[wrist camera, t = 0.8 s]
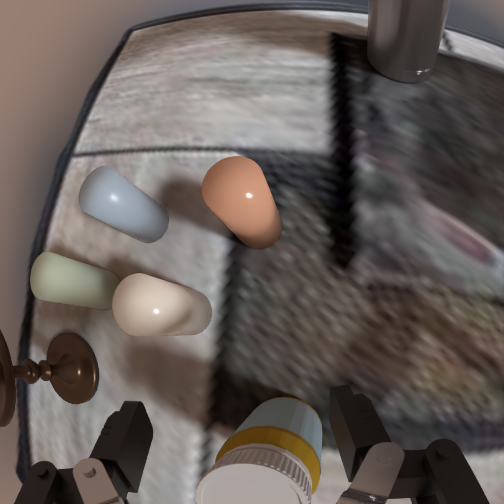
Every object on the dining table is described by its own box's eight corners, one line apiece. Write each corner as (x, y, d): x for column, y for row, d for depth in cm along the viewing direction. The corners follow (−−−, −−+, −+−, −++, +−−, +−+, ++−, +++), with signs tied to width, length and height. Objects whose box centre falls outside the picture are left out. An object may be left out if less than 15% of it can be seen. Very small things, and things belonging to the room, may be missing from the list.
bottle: (270, 382, 28) (221, 431, 14) (335, 415, 26) (344, 491, 12) (236, 438, 27) (169, 511, 13) (298, 470, 25) (274, 564, 11)
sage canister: (90, 274, 35) (30, 257, 25) (119, 267, 34) (59, 246, 25) (93, 312, 34) (30, 303, 24) (122, 307, 33) (60, 296, 23)
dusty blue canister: (133, 210, 36) (80, 175, 26) (167, 199, 35) (118, 158, 25) (135, 247, 34) (77, 220, 25) (170, 237, 34) (117, 205, 24)
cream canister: (167, 293, 32) (110, 279, 23) (208, 285, 31) (160, 267, 22) (173, 337, 31) (115, 339, 21) (215, 331, 30) (168, 332, 21)
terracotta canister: (234, 211, 33) (198, 165, 23) (277, 200, 32) (257, 149, 22) (241, 253, 31) (205, 221, 22) (286, 243, 31) (269, 205, 21)
